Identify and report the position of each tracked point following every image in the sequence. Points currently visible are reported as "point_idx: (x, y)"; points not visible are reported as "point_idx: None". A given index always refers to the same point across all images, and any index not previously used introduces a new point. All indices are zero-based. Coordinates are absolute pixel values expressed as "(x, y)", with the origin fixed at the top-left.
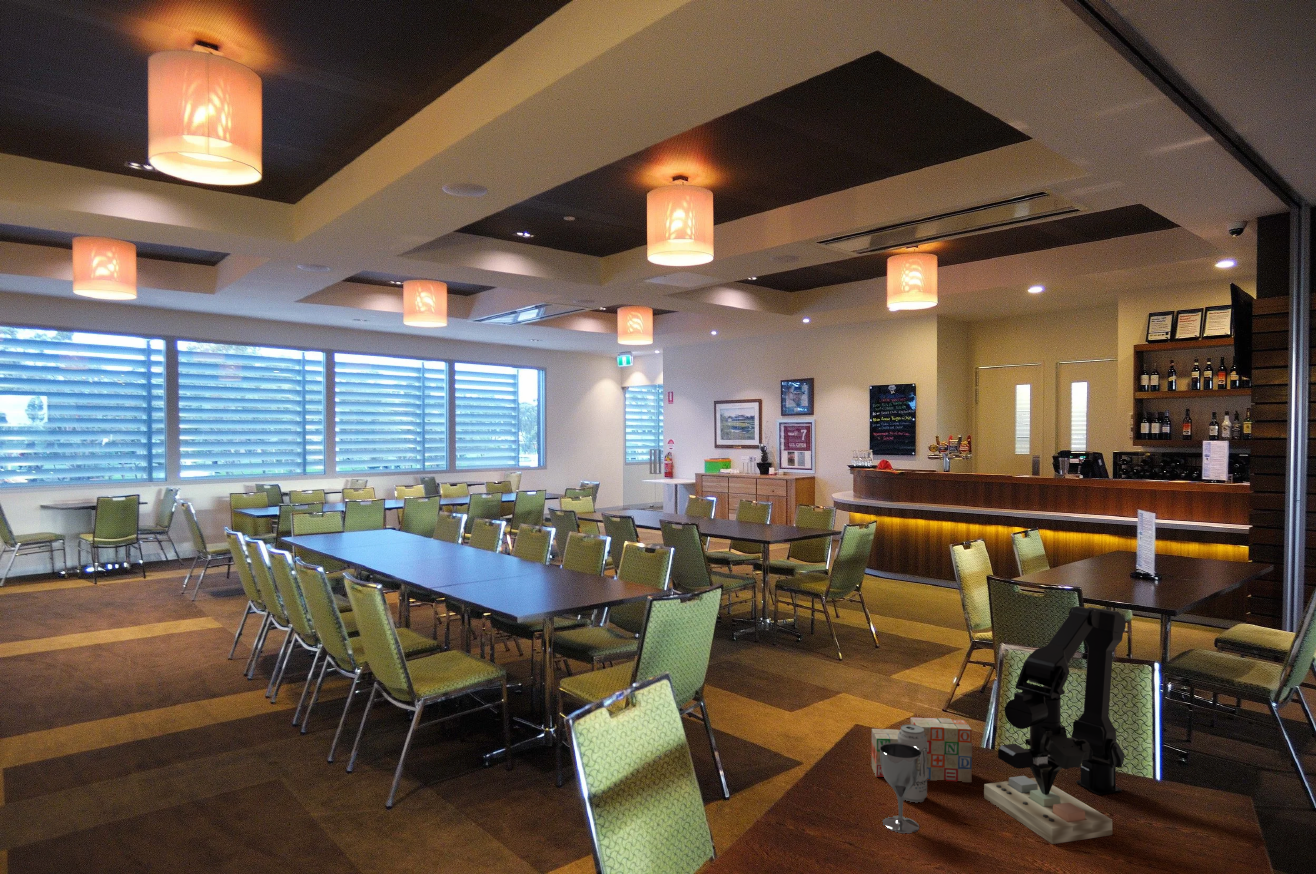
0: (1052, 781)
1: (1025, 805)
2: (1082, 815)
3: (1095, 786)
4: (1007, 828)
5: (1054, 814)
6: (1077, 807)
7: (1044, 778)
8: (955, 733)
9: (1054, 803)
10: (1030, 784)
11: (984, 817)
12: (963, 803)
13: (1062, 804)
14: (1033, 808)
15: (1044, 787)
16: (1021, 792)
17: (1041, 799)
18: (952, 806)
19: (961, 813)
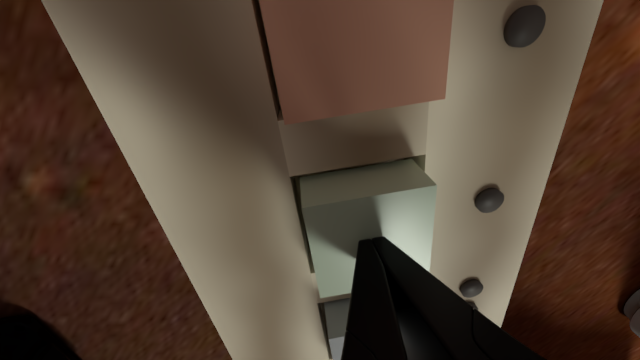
0: (365, 312)
1: (503, 181)
2: None
3: (16, 353)
4: (595, 87)
5: None
6: (272, 17)
7: (489, 331)
8: None
9: (343, 181)
10: None
11: (587, 182)
12: (557, 268)
13: (368, 94)
14: (493, 146)
15: (421, 266)
16: None
17: (430, 198)
18: (608, 253)
19: (630, 212)
